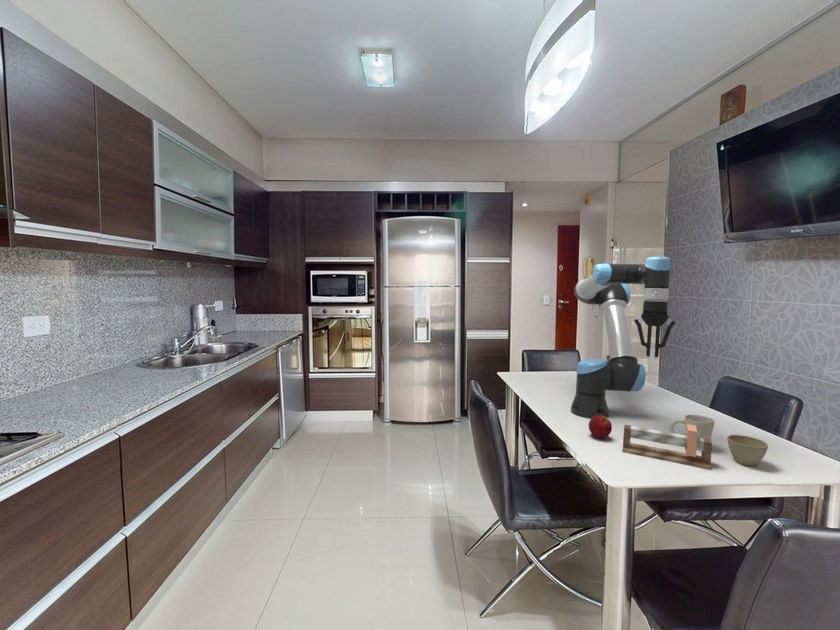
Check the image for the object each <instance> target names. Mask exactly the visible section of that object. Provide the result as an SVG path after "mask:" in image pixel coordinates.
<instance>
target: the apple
mask: <svg viewBox="0 0 840 630" xmlns="http://www.w3.org/2000/svg"><path fill="white" fill-rule="evenodd" d="M588 430H589V432H590V434H591V435H593V436H594V437H595V438H598V439H604V438H607V437H608V436H610V434H611V433H612V430H613V426H612V422H611V421H610V419H608V417H605V416H602V415H597V416H594V417H593V418H590V420H589V422H588Z"/></svg>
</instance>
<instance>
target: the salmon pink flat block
mask: <svg viewBox="0 0 840 630" xmlns="http://www.w3.org/2000/svg"><path fill="white" fill-rule="evenodd" d="M697 434H698V431H697V428H696V425H690V424H687V427H686V426H685V435H687V448H685V447H684V449H685V453H686V455H687V456H693V457H696V455H697V450H696V448H697Z"/></svg>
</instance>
